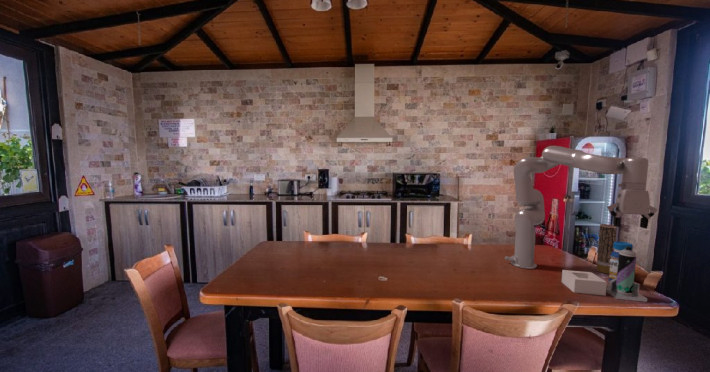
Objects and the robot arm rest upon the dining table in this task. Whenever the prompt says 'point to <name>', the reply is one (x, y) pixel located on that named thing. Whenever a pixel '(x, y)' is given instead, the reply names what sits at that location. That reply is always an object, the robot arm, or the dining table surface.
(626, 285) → the spray can
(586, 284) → the bore block
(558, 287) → the dining table surface
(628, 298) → the v-block
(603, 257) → the wooden log
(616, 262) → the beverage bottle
